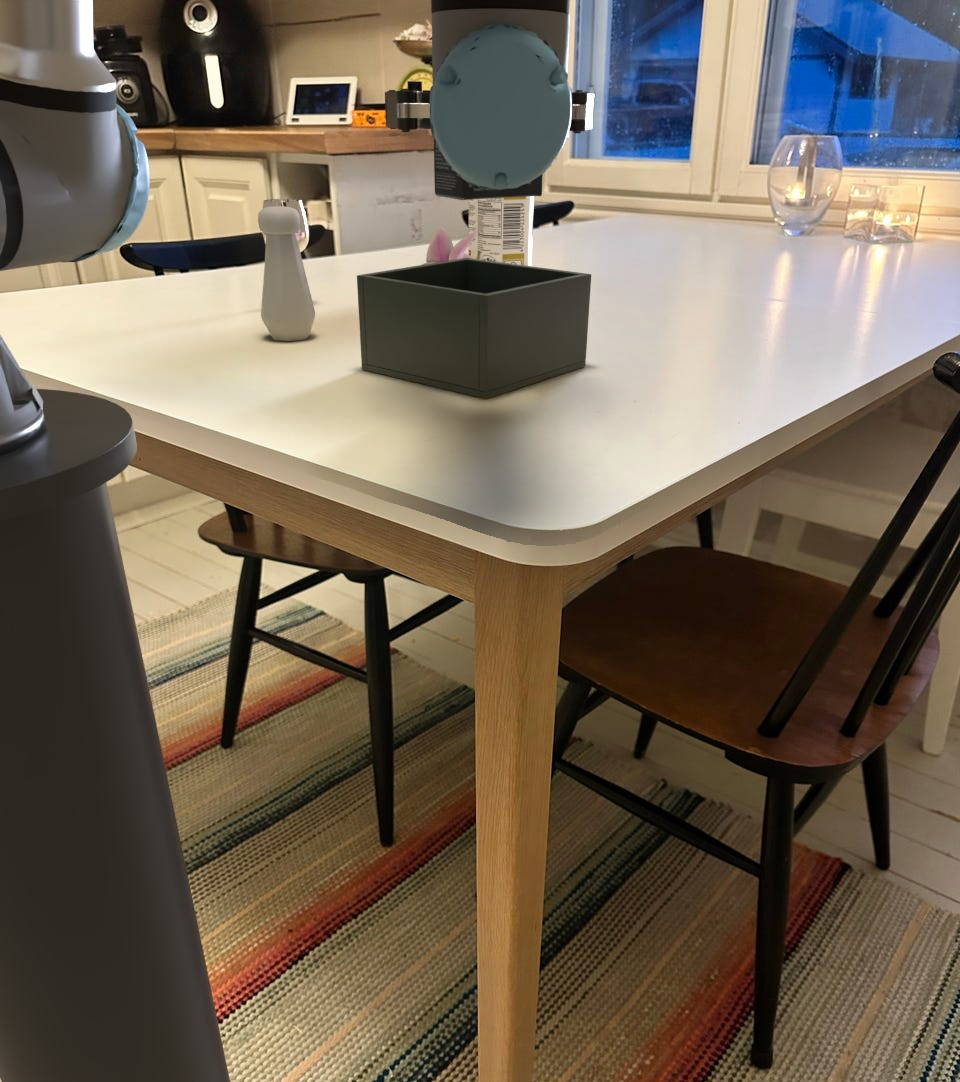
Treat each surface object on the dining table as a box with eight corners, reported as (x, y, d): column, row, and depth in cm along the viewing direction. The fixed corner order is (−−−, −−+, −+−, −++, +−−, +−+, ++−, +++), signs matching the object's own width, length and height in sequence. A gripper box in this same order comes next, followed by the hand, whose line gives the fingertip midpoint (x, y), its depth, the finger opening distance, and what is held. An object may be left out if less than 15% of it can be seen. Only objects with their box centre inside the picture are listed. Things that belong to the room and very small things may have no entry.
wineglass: (267, 300, 120) (257, 198, 113) (311, 298, 121) (303, 198, 115) (271, 308, 115) (260, 203, 109) (317, 306, 116) (309, 202, 110)
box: (510, 193, 83) (513, 54, 78) (543, 198, 79) (549, 52, 73) (432, 195, 80) (430, 51, 74) (462, 201, 75) (462, 48, 70)
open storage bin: (361, 369, 89) (356, 275, 85) (465, 342, 99) (465, 257, 95) (486, 399, 80) (487, 295, 76) (585, 366, 91) (591, 274, 86)
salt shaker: (324, 339, 100) (315, 208, 93) (274, 345, 97) (260, 210, 91) (305, 329, 104) (294, 203, 98) (256, 334, 102) (242, 205, 95)
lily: (489, 309, 121) (457, 238, 119) (518, 286, 110) (484, 207, 108) (409, 346, 118) (376, 274, 116) (431, 326, 107) (395, 246, 105)
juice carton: (488, 292, 126) (490, 135, 117) (463, 282, 133) (463, 133, 124) (536, 288, 129) (542, 134, 120) (509, 279, 136) (513, 133, 126)
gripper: (331, 173, 62) (363, 157, 82) (653, 177, 63) (609, 160, 82) (323, 41, 58) (358, 57, 78) (666, 46, 59) (616, 60, 78)
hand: (487, 110), depth 80 cm, fingers closed on box, 9 cm apart
